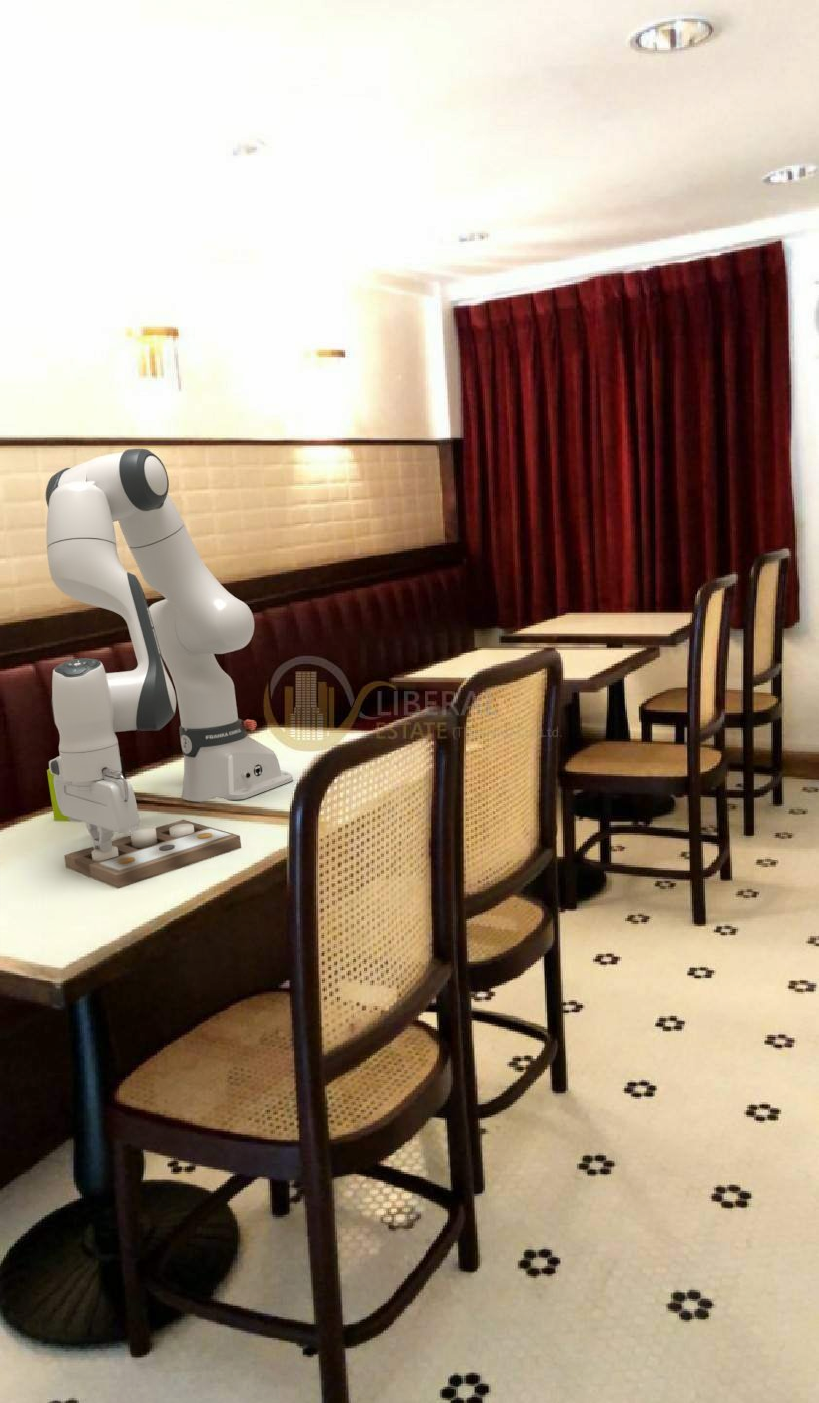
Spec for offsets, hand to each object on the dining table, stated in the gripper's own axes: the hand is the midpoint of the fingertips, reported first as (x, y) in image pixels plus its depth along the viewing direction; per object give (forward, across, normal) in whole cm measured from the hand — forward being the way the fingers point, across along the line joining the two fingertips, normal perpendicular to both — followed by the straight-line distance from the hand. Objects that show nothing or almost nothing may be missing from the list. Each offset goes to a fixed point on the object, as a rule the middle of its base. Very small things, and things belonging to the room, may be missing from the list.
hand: (103, 850), depth 171 cm
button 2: (+3, 0, -14) cm, 14 cm away
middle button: (+1, 0, -7) cm, 7 cm away
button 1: (+3, 0, 0) cm, 3 cm away
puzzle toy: (+4, +36, -16) cm, 40 cm away
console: (+4, -2, -7) cm, 9 cm away
